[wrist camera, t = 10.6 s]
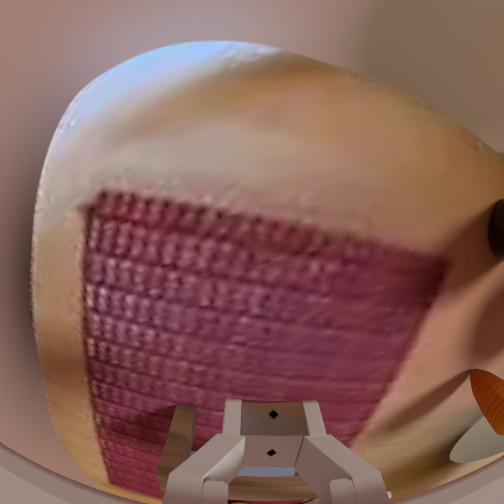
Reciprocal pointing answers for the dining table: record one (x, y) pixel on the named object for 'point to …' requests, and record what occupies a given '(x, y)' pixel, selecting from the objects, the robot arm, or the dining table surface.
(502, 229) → the supplement bottle
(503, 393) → the carrot
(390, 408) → the dining table surface
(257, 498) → the bridge
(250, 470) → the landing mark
